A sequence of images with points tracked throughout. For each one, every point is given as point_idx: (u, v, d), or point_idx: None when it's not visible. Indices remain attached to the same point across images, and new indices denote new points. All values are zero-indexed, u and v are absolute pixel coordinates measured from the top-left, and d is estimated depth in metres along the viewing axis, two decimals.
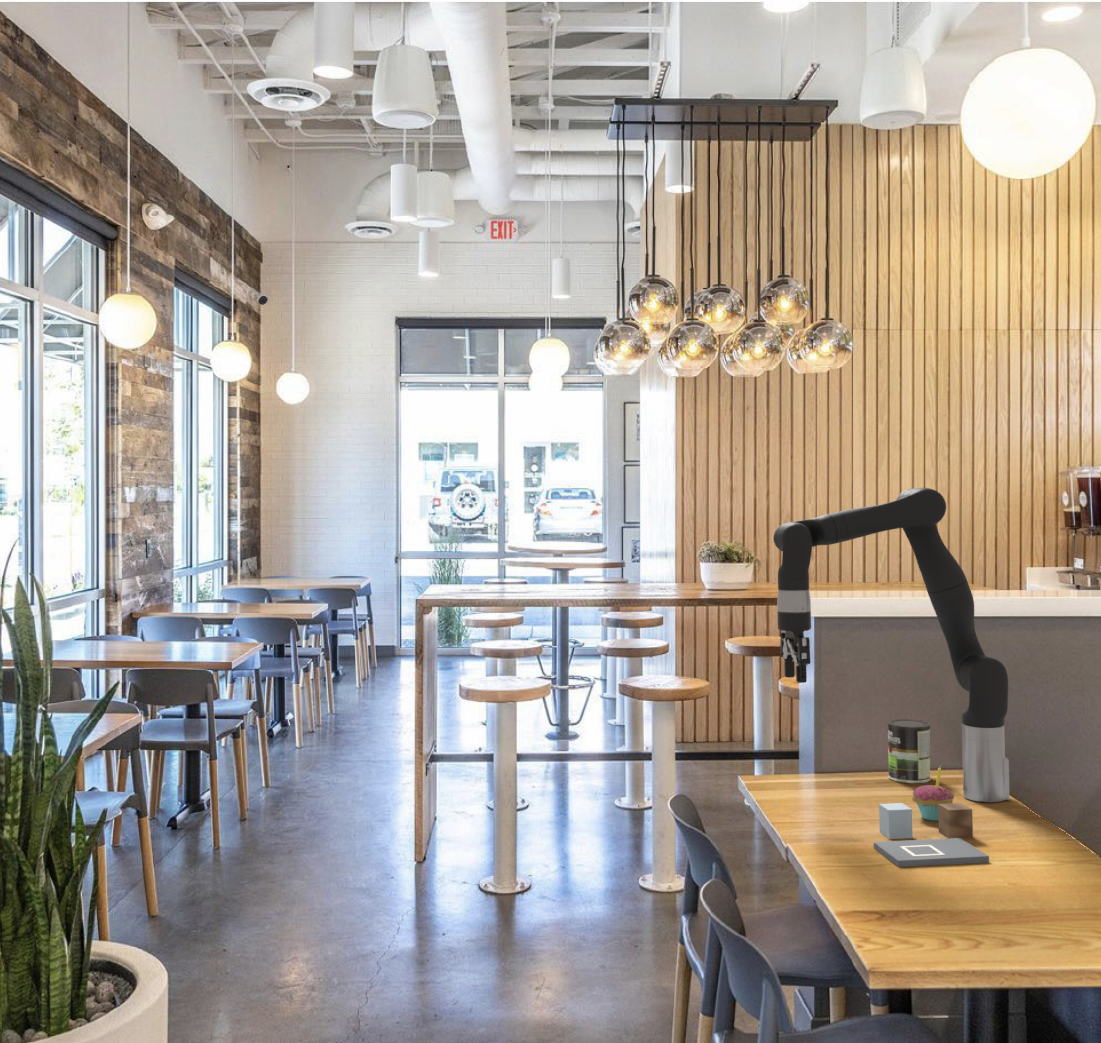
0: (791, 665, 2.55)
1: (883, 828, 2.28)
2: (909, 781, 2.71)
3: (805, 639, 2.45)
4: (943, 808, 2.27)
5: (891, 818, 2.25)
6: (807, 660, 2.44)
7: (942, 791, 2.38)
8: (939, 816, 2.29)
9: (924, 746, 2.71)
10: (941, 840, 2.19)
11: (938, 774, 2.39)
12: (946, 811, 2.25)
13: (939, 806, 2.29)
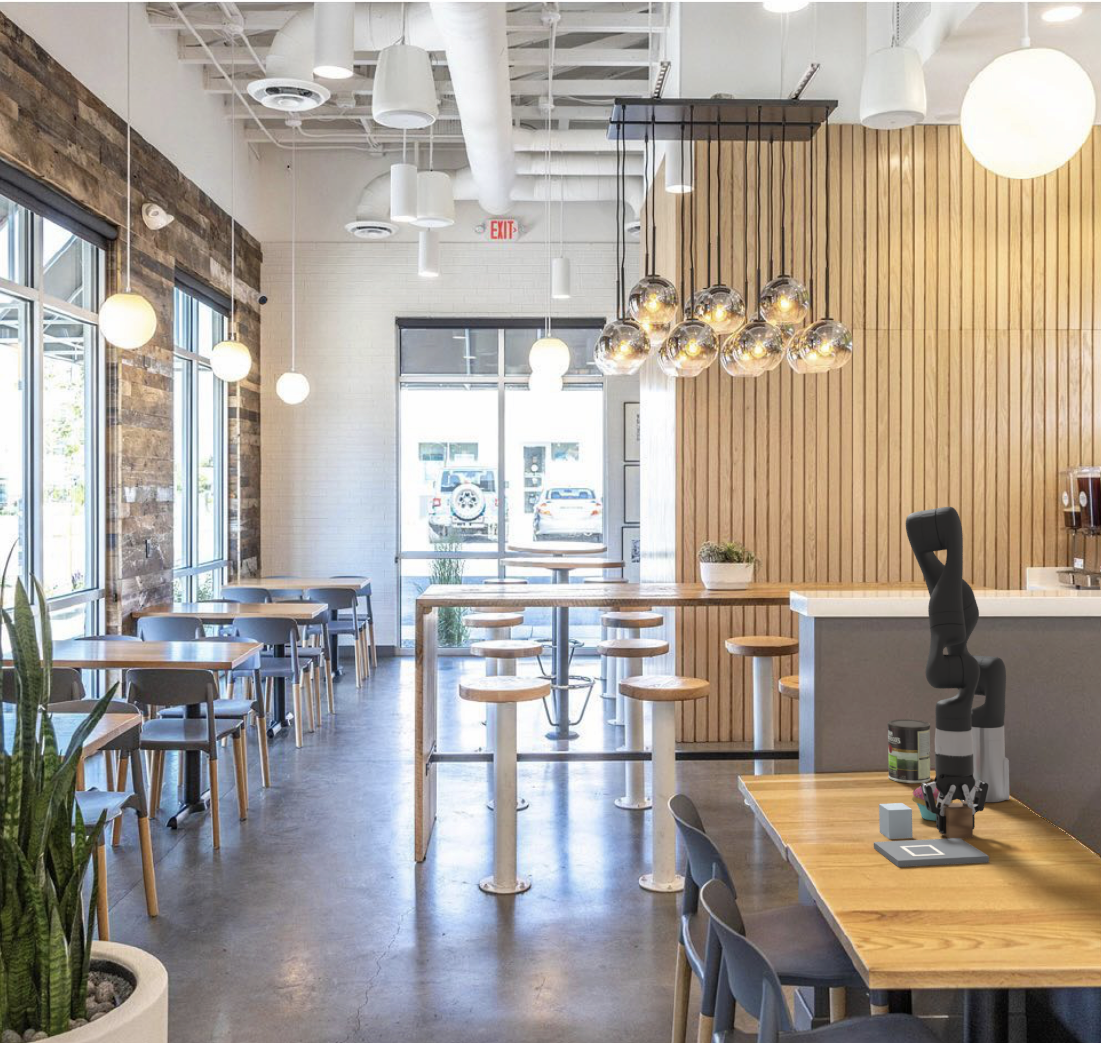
0: None
1: (883, 828, 2.28)
2: (909, 781, 2.71)
3: None
4: None
5: (891, 818, 2.25)
6: (978, 804, 2.28)
7: None
8: None
9: (924, 746, 2.71)
10: (941, 840, 2.19)
11: None
12: (946, 810, 2.25)
13: None
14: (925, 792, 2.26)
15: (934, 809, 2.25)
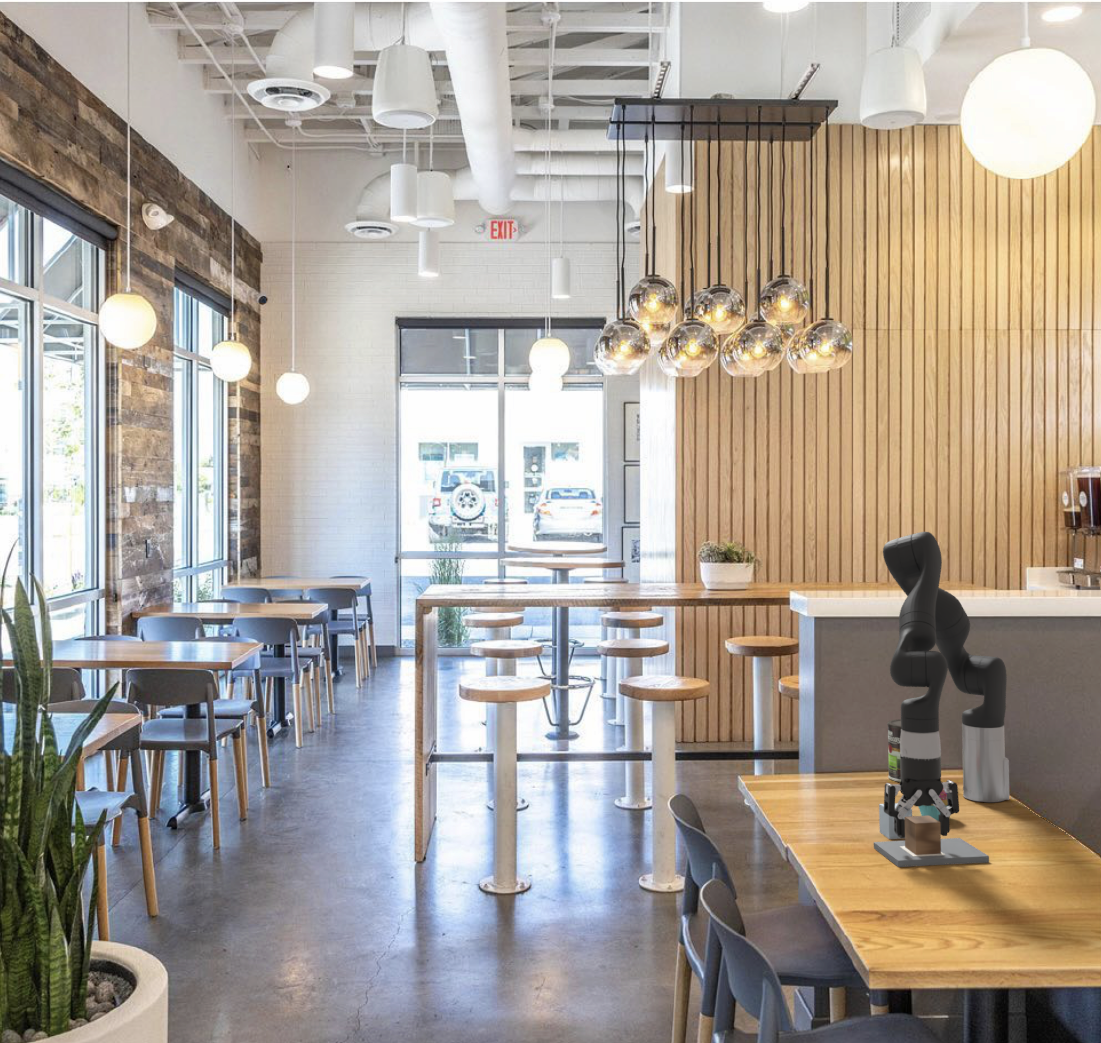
0: None
1: (883, 828, 2.28)
2: None
3: None
4: (909, 821, 2.13)
5: (891, 818, 2.25)
6: None
7: (942, 791, 2.38)
8: (905, 830, 2.15)
9: None
10: (941, 840, 2.19)
11: None
12: (913, 824, 2.11)
13: (905, 819, 2.14)
14: (887, 792, 2.12)
15: (891, 812, 2.11)
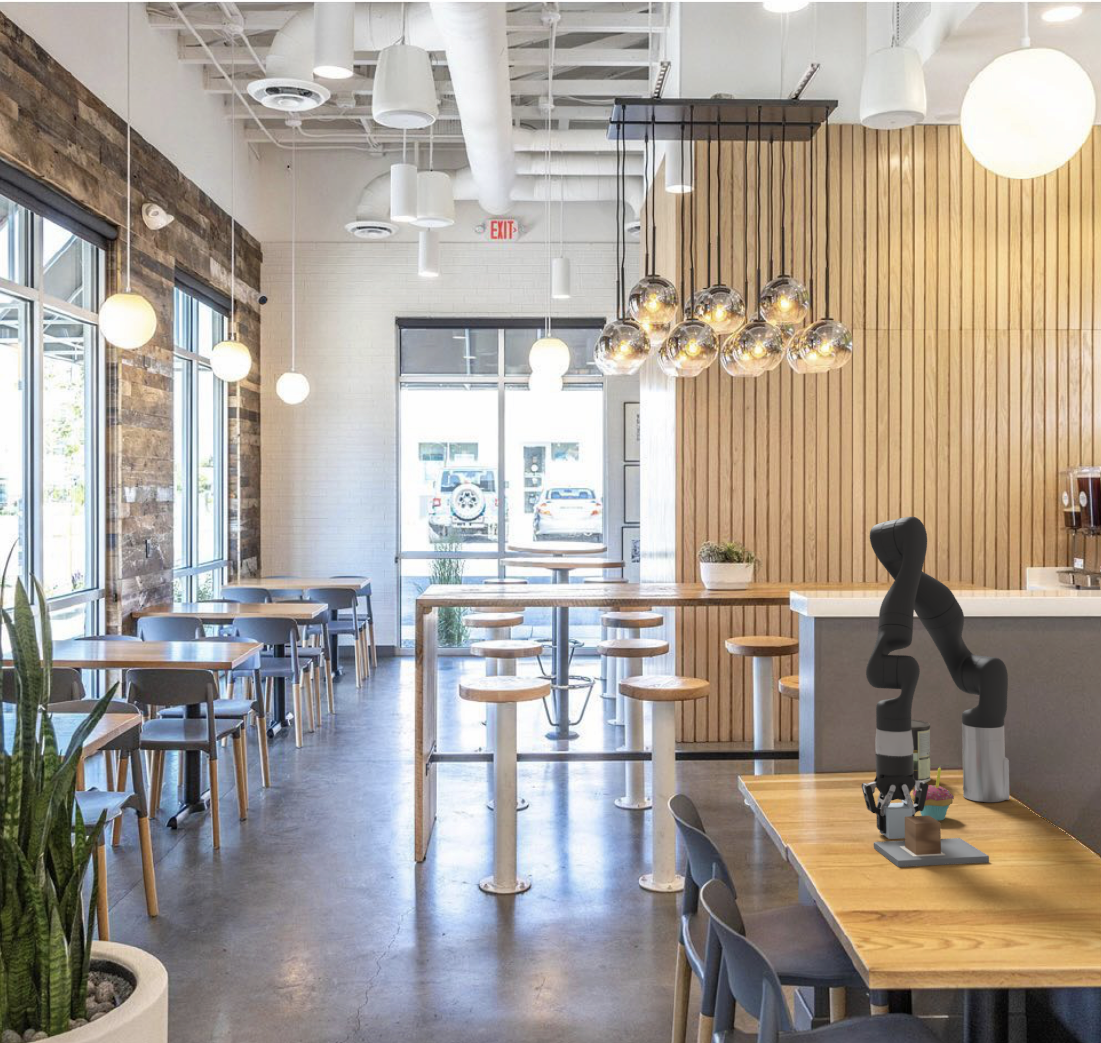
0: None
1: None
2: None
3: None
4: (909, 821, 2.13)
5: (891, 818, 2.25)
6: None
7: (942, 791, 2.38)
8: (905, 830, 2.15)
9: (924, 746, 2.71)
10: (941, 840, 2.19)
11: (938, 774, 2.39)
12: (913, 824, 2.11)
13: (905, 819, 2.14)
14: (865, 792, 2.27)
15: (874, 809, 2.26)
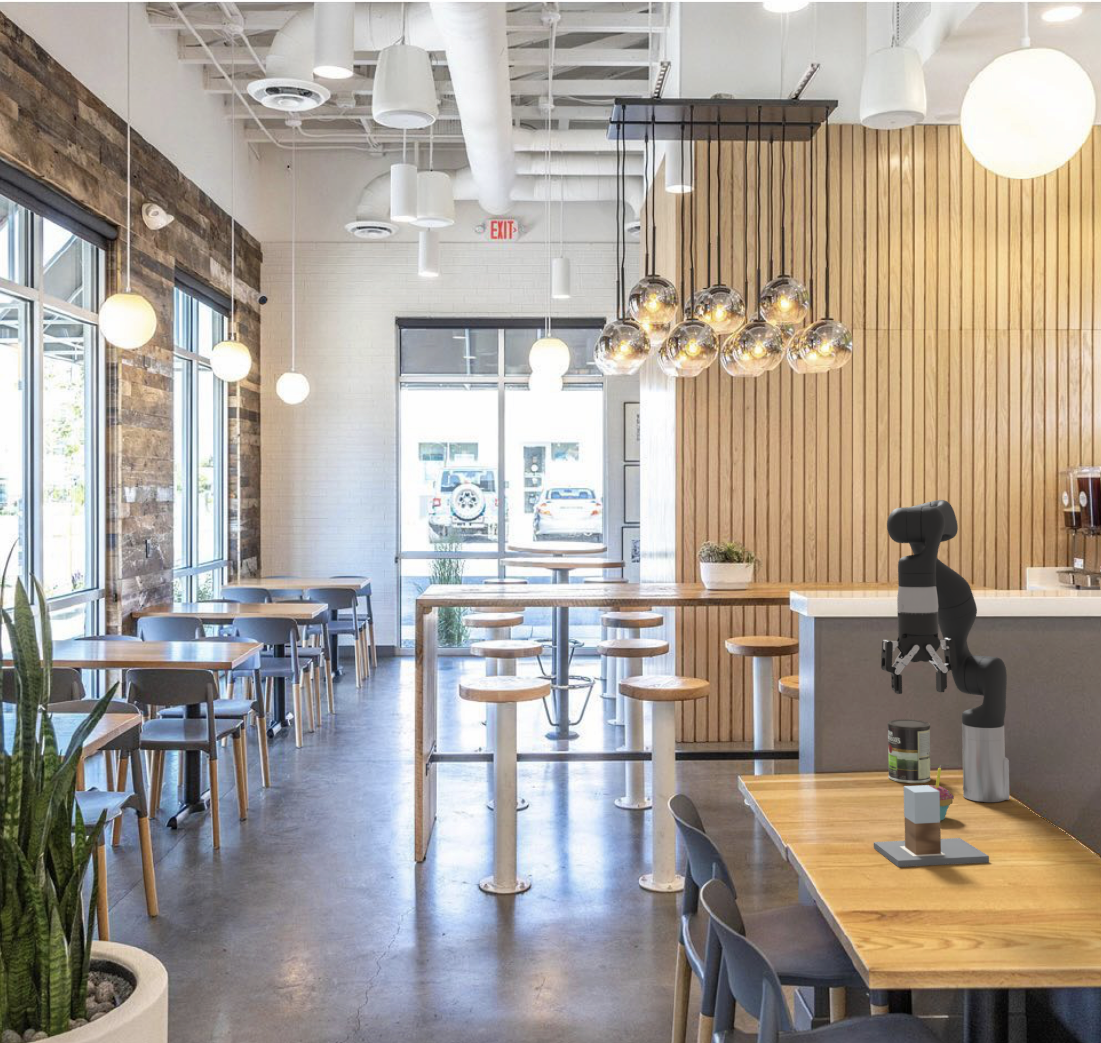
0: None
1: (908, 812, 2.13)
2: (909, 781, 2.71)
3: None
4: (909, 821, 2.13)
5: (917, 801, 2.10)
6: None
7: (942, 791, 2.38)
8: (905, 830, 2.15)
9: (924, 746, 2.71)
10: (941, 840, 2.19)
11: (938, 774, 2.39)
12: (912, 824, 2.11)
13: (905, 819, 2.14)
14: (885, 648, 2.12)
15: (889, 667, 2.11)
